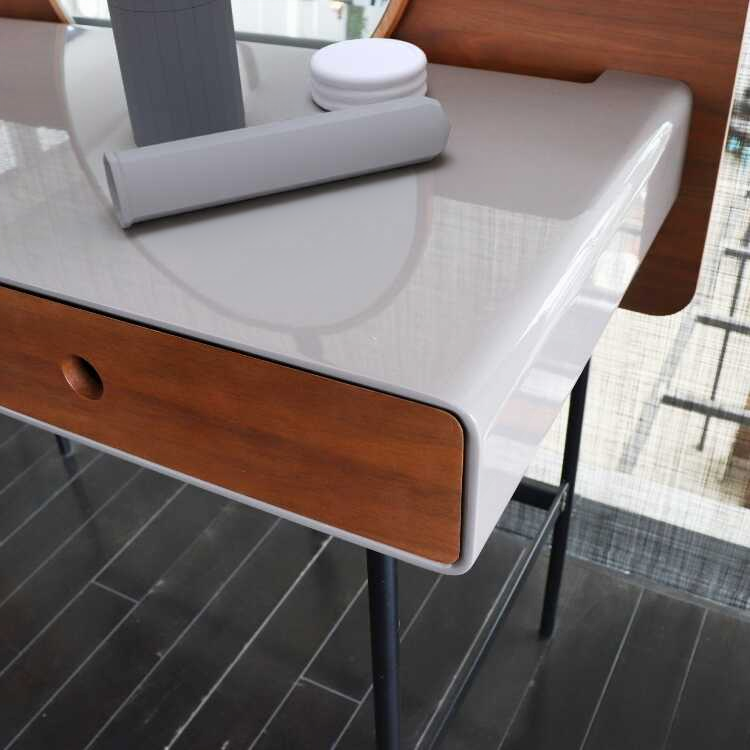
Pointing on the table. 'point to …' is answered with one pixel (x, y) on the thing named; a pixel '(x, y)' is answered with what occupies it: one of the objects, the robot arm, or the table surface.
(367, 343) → the table surface
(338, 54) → the white thick disc
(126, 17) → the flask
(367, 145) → the tube
